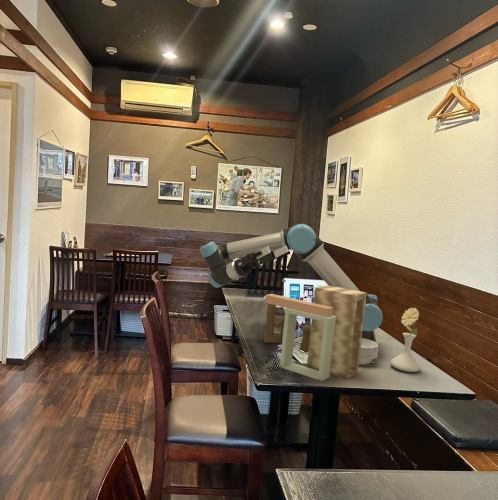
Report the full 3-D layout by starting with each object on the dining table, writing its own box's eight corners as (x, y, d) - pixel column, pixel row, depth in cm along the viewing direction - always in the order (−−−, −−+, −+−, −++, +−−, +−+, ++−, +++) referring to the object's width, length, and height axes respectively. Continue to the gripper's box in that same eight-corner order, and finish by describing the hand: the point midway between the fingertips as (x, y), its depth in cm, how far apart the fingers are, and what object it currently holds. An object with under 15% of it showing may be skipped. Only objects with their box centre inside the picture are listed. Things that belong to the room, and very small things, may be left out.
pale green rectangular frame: (279, 367, 165) (285, 308, 163) (287, 363, 170) (293, 306, 168) (322, 381, 155) (329, 318, 153) (329, 376, 160) (336, 316, 157)
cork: (310, 354, 183) (313, 327, 182) (296, 350, 186) (299, 324, 185) (316, 351, 188) (319, 325, 187) (303, 347, 191) (305, 322, 190)
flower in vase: (387, 362, 181) (394, 301, 179) (416, 365, 180) (423, 304, 178) (394, 374, 168) (402, 308, 166) (425, 377, 167) (434, 312, 165)
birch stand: (306, 366, 168) (314, 287, 165) (318, 360, 176) (327, 285, 173) (346, 379, 159) (356, 295, 156) (357, 372, 167) (366, 292, 164)
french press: (280, 327, 220) (285, 277, 218) (295, 334, 211) (301, 281, 208) (264, 328, 215) (269, 277, 213) (279, 335, 205) (284, 282, 203)
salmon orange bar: (264, 302, 169) (265, 294, 169) (270, 301, 172) (271, 293, 172) (327, 317, 154) (328, 308, 154) (332, 315, 157) (333, 307, 157)
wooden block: (289, 344, 194) (293, 303, 192) (264, 342, 193) (268, 301, 191) (287, 341, 197) (291, 301, 196) (263, 340, 196) (267, 299, 195)
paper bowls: (348, 352, 191) (350, 333, 190) (382, 362, 181) (385, 343, 180) (330, 359, 179) (332, 340, 178) (366, 370, 169) (368, 350, 169)
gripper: (258, 274, 200) (297, 256, 188) (223, 278, 180) (263, 258, 168) (253, 258, 202) (291, 240, 190) (217, 261, 181) (257, 240, 170)
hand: (278, 248), depth 179 cm, fingers open, 13 cm apart
